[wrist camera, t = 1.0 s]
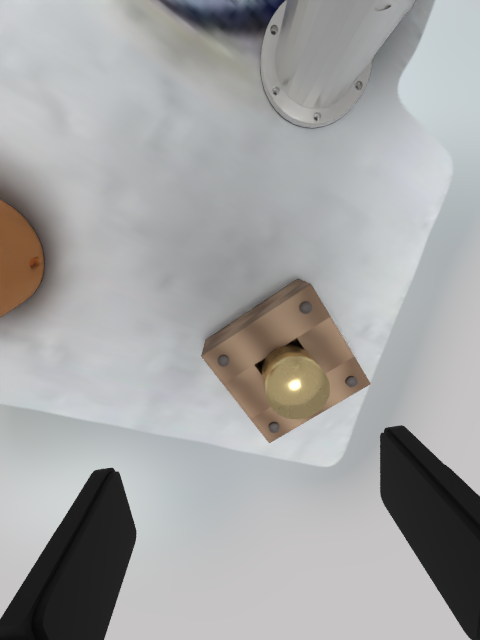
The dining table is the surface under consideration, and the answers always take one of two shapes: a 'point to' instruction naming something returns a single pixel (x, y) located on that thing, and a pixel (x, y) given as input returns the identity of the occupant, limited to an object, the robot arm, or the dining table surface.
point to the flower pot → (18, 259)
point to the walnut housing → (272, 333)
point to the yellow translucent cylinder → (294, 382)
